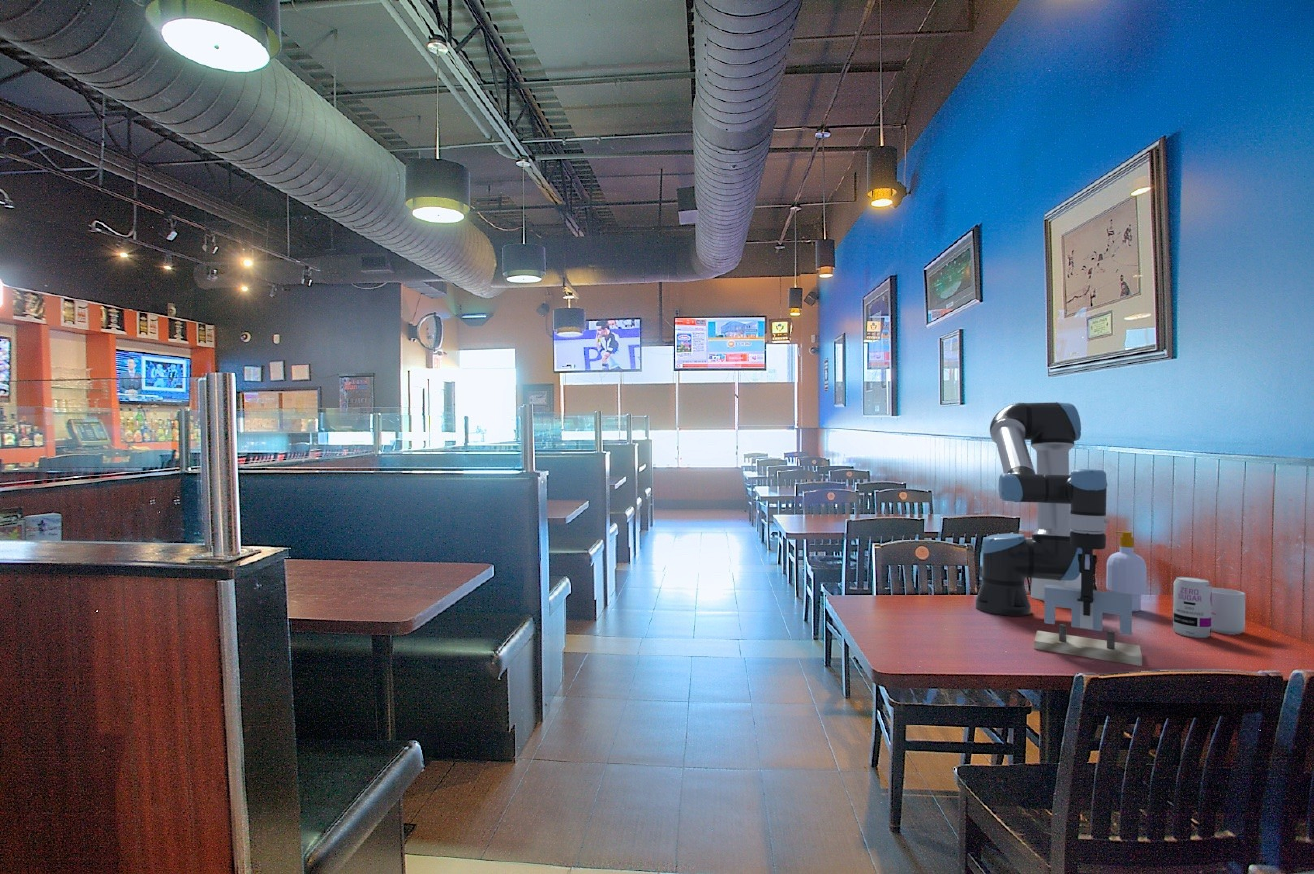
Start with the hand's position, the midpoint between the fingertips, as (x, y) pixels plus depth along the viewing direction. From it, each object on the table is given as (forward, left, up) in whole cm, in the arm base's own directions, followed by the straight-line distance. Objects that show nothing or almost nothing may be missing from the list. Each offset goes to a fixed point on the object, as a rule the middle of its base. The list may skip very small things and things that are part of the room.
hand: (1086, 625), depth 165 cm
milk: (-8, +61, -7) cm, 61 cm away
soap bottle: (+10, +60, -7) cm, 61 cm away
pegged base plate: (0, +2, -7) cm, 7 cm away
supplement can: (+24, +37, -7) cm, 44 cm away
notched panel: (0, 0, 0) cm, 0 cm away
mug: (+31, +48, -7) cm, 57 cm away
